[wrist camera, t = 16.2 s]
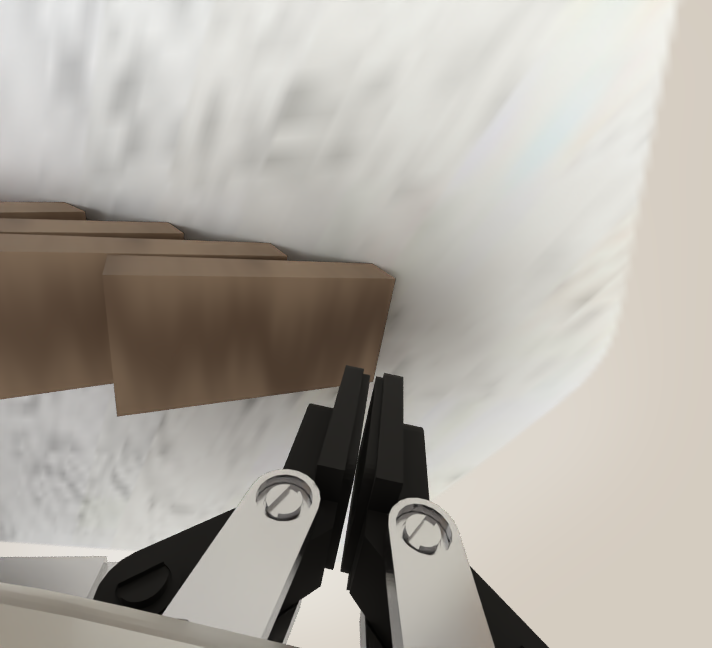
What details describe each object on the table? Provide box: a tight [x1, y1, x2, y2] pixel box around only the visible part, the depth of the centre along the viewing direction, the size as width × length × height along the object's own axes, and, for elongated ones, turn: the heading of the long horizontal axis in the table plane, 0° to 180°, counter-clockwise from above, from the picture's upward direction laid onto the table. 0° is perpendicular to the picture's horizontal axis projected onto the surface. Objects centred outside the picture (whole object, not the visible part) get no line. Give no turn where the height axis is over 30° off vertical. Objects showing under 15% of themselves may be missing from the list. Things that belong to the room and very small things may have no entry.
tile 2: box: [0, 233, 287, 399], centre depth 15 cm, size 5×2×10 cm
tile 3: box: [0, 218, 184, 240], centre depth 14 cm, size 5×2×10 cm
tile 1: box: [102, 254, 395, 416], centre depth 15 cm, size 5×2×10 cm
